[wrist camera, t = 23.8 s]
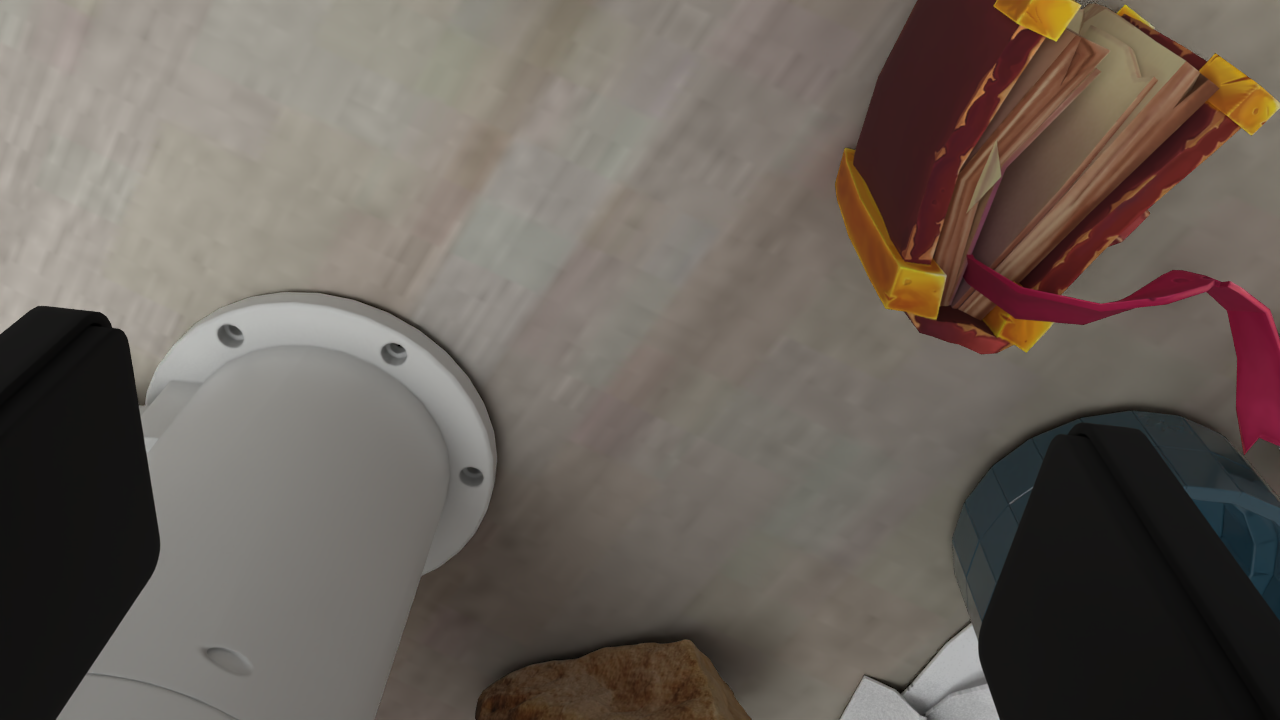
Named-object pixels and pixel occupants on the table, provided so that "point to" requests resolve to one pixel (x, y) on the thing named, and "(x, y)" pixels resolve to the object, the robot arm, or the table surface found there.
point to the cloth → (932, 689)
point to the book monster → (1041, 173)
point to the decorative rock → (615, 687)
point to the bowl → (1198, 457)
